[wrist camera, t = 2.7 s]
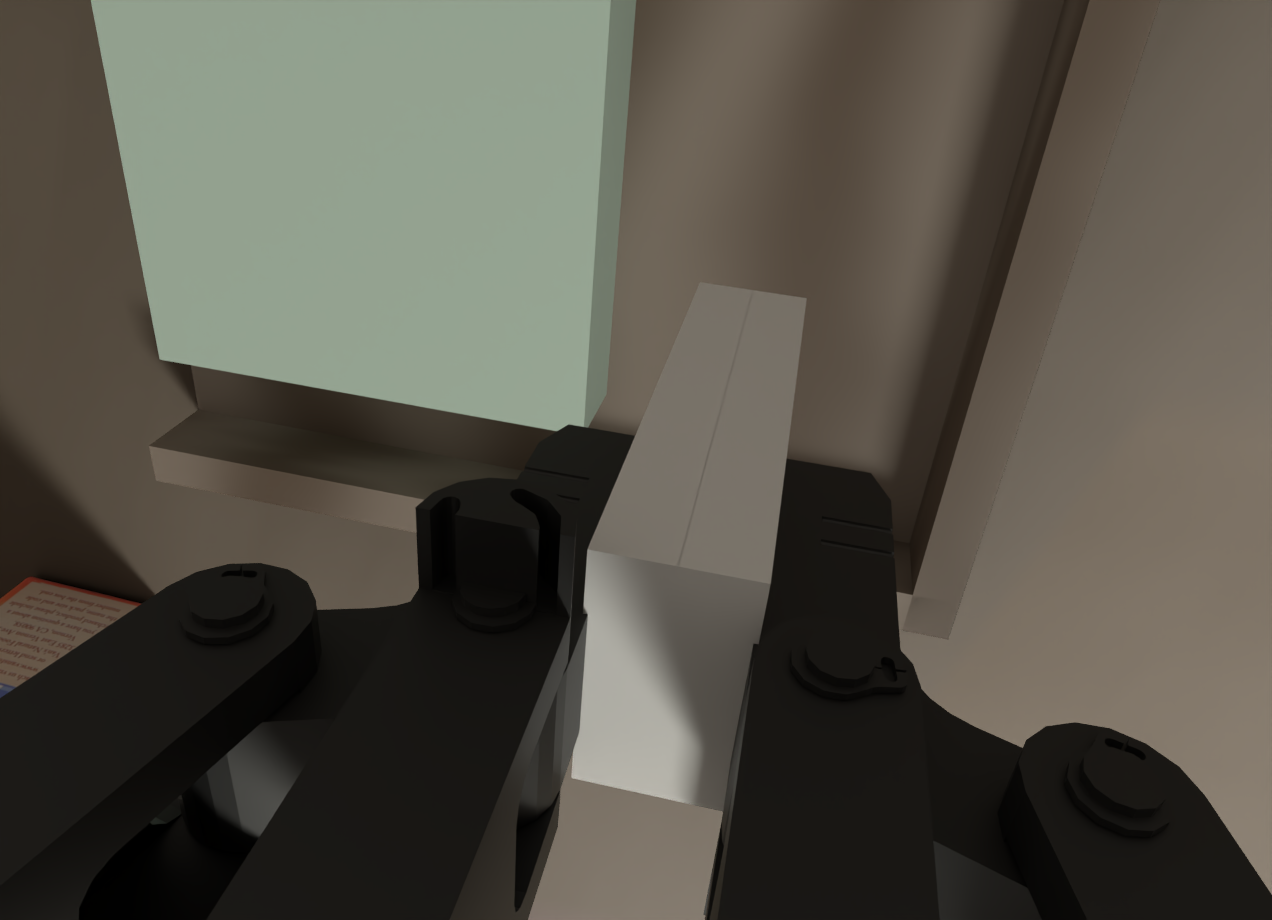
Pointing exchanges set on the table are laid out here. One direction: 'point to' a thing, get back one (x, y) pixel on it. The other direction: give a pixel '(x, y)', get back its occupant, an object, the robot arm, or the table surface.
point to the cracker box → (49, 625)
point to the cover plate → (380, 192)
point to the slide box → (790, 260)
